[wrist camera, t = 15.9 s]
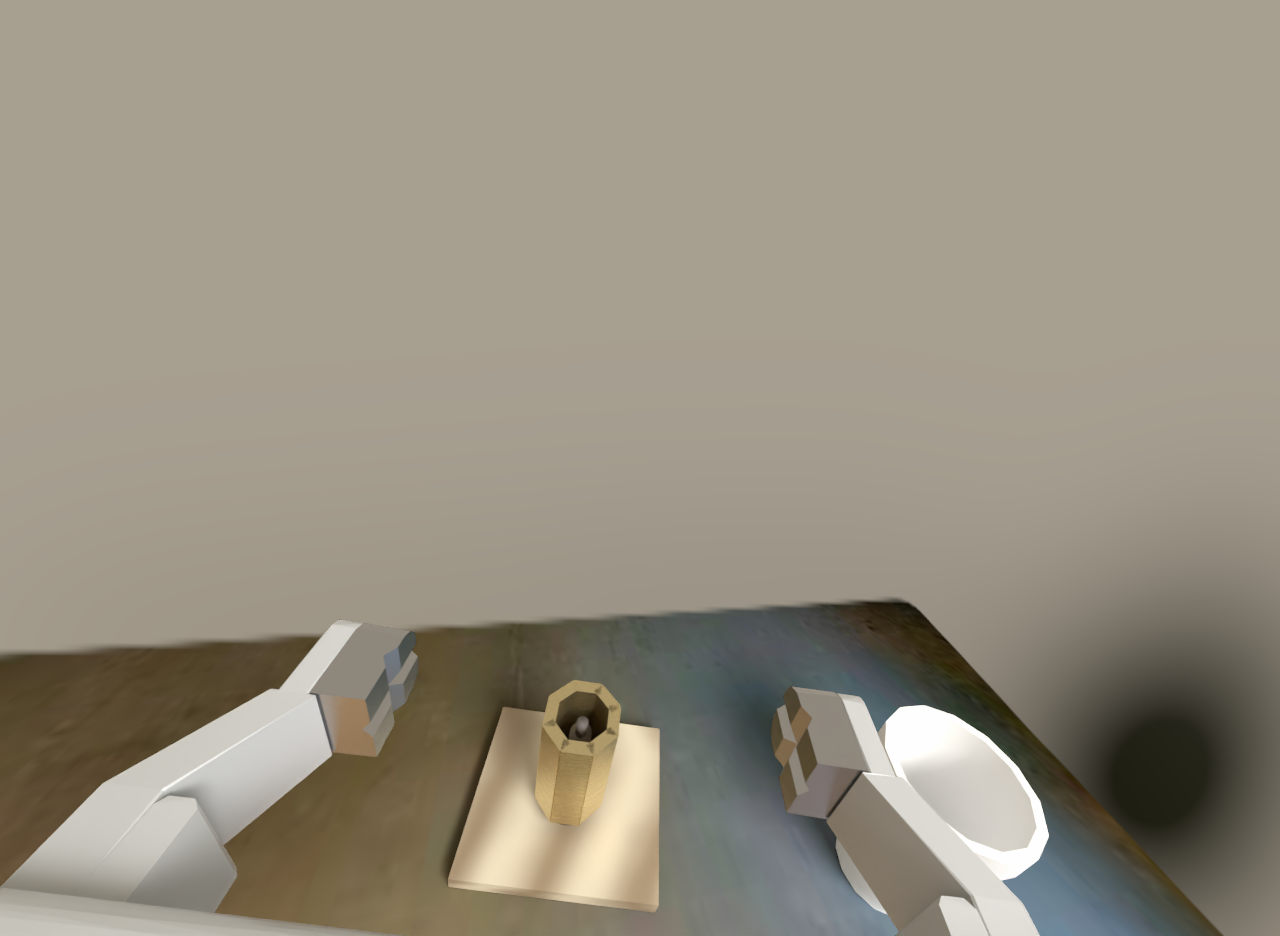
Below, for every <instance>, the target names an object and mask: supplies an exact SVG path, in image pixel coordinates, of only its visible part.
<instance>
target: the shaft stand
mask: <svg viewBox="0 0 1280 936" xmlns="http://www.w3.org/2000/svg"><path fill="white" fill-rule="evenodd" d="M544 715H545V713H544V712H537V711H530V710H523V709H516V708H509V707H503V709H502V713H501V716H500V719H499V722H498V725H497V728H496V731H495V734H494V737H493V740H492V744H491V747H490V750H489V753H488V756H487V759H486V762H485V765H484V768H483V771H482V775H481V778H480V781H479V784H478V787H477V790H476V793H475V796H474V799H473V802H472V806H471V809H470V812H469V815H468V818H467V821H466V824H465V827H464V830H463V834H462V837H461V840H460V843H459V846H458V849H457V852H456V855H455V858H454V861H453V865H452V868H451V871H450V874H449V877H448V887H454V888H462V889H470V890H478V891H486V892H494V893H502V894H510V895H518V896H526V897H534V898H542V899H550V900H558V901H566V902H574V903H583V904H591V905H599V906H607V907H615V908H623V909H631V910H639V911H647V912H656V910H657V908H658V906H659V729H657V728H650V727H643V726H636V725H629V724H622V723H620V724H619V736H618V740H617V744H616V748H615V752H614V756H613V760H612V764H611V768H610V772H609V776H608V780H607V784H606V788H605V792H604V796H603V800H602V804H601V806H600V807H599V808H598V809H597V810H596V811H595V812H594V813H593V814H592V815H590V816H589V817H588V818H587V819H586V820H585V821H584V822H583V823H582V824H580V825H578V826H574V825H566V824H559V823H551V822H549V820H548V818H547V817H546V815H545V813H544V812H543V810H542V808H541V807H540V805H539V804H538V802H537V800H536V799H535V788H536V778H537V769H538V759H539V750H540V741H541V731H542V723H543V719H544ZM588 723H589V721H588V719H587V718H586V717H584V716H581V717H579V718H578V719H577V723H575V724H574V725H573V726H572V727H571V729H570V734H569V740H575V741H582V742H589V743H590V739H591V734H592V730H591V727H590V726H589V725H588Z"/></svg>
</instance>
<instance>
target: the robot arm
mask: <svg viewBox="0 0 1280 936" xmlns="http://www.w3.org/2000/svg"><path fill="white" fill-rule="evenodd" d="M415 644H416V638H415V632H412V631H406V630H400V629H395V628H389V627H383V626H377V625H371V624H366V623H360V622H353V621H347V620H340V619H339V620H338V621H337V622H335V623H334V624H332V625H331V626H330V627H329V628H328V629H327V631H326V632H325V633H324V634H323V635H322V637H321V638H320V639H319V640H318V642H317V643H316V644H315V645H314V647H313V648H312V649H311V650H310V651H309V653H308V654H307V655H306V656H305V658H304V659H303V660H302V661H301V663H300V664H299V665H298V666H297V667H296V669H295V670H294V671H293V672H292V674H291V675H290V676H289V677H288V678H287V680H286V681H285V682H284V683H283V685H282V686H281V687H280V688H279V689H269V690H267V691H266V692H264V693H262V694H260V695H258V696H257V697H255V698H253V699H251V700H250V701H248V702H246V703H244V704H243V705H241V706H239V707H237V708H235V709H234V710H232V711H230V712H228V713H227V714H225V715H223V716H221V717H219V718H218V719H216V720H214V721H212V722H211V723H209V724H207V725H205V726H204V727H202V728H200V729H198V730H196V731H195V732H193V733H191V734H189V735H188V736H186V737H184V738H182V739H180V740H179V741H177V742H175V743H173V744H172V745H170V746H168V747H166V748H164V749H163V750H161V751H159V752H157V753H156V754H154V755H152V756H150V757H149V758H147V759H145V760H143V761H141V762H140V763H138V764H136V765H134V766H133V767H131V768H129V769H127V770H125V771H124V772H122V773H120V774H118V775H117V776H115V777H113V778H111V779H109V780H108V781H106V782H104V783H103V784H102V785H101V786H100V787H99V788H98V789H97V790H96V791H95V792H94V793H93V794H92V795H91V796H90V797H89V798H88V799H87V800H86V801H85V802H84V803H83V804H82V805H81V806H80V807H79V808H78V809H77V810H76V811H75V812H74V813H73V814H72V815H71V816H70V817H69V818H68V819H67V820H66V821H65V822H64V823H63V824H62V825H61V826H60V827H59V828H58V829H57V830H56V831H55V832H54V833H53V834H52V835H51V836H50V837H49V838H48V839H47V840H46V841H45V842H44V843H43V844H42V845H41V846H40V847H39V848H38V849H37V850H36V851H35V852H34V853H33V854H32V855H31V856H30V857H29V858H28V859H27V860H26V861H25V862H24V863H23V864H22V865H21V866H20V867H19V868H18V869H17V870H16V871H15V872H14V873H13V874H12V875H11V876H10V877H9V878H8V879H7V881H6V882H5V883H4V884H3V885H2V886H1V887H0V936H405V935H396V934H388V933H379V932H371V931H363V930H354V929H346V928H337V927H329V926H321V925H312V924H304V923H295V922H287V921H279V920H270V919H262V918H253V917H245V916H237V915H228V914H220V913H215V911H216V909H217V908H218V906H219V905H220V903H221V901H222V900H223V898H224V897H225V895H226V893H227V892H228V890H229V889H230V887H231V885H232V884H233V882H234V881H235V879H236V878H237V869H236V865H235V864H234V862H233V860H232V859H231V857H230V855H229V854H228V852H227V850H226V849H225V847H224V844H226V843H227V842H228V841H229V840H230V839H232V838H233V837H234V836H235V835H237V834H238V833H239V832H240V831H241V830H243V829H244V828H245V827H246V826H247V825H249V824H250V823H251V822H252V821H253V820H255V819H256V818H257V817H258V816H259V815H261V814H262V813H263V812H264V811H266V810H267V809H268V808H269V807H270V806H272V805H273V804H274V803H275V802H276V801H278V800H279V799H280V798H281V797H282V796H284V795H285V794H286V793H287V792H288V791H290V790H291V789H292V788H293V787H294V786H296V785H297V784H298V783H299V782H301V781H302V780H303V779H304V778H305V777H307V776H308V775H309V774H310V773H311V772H313V771H314V770H315V769H316V768H317V767H319V766H320V765H321V764H322V763H323V762H325V761H326V760H327V759H328V758H329V757H331V756H332V752H334V753H344V754H353V755H363V756H372V757H377V756H378V754H379V752H380V750H381V748H382V746H383V744H384V743H385V741H386V739H387V737H388V735H389V733H390V731H391V729H392V728H393V726H394V717H393V711H395V710H396V709H398V708H399V707H401V706H402V705H403V704H405V703H406V701H407V699H408V697H409V695H410V693H411V691H412V689H413V686H414V683H415V680H416V677H417V671H418V657H417V656H416V655H415V653H414V652H413V651H412V649H413V647H414V646H415ZM783 697H784V701H785V705H784V706H782V707H780V708H778V709H777V710H776V712H775V715H774V717H773V720H772V728H771V737H772V746H773V751H774V755H775V757H776V758H777V759H778V760H779V762H780V763H781V764H782V766H783V767H784V768H783V770H782V772H781V774H780V776H779V780H780V785H781V789H782V794H783V799H784V803H785V808H786V812H787V813H792V814H798V815H804V816H810V817H816V818H822V819H828V820H827V821H826V822H827V824H828V825H829V827H830V828H831V830H832V831H833V833H834V834H835V836H836V837H837V839H838V840H839V842H840V843H841V845H842V846H843V848H844V849H845V851H846V852H847V854H848V855H849V857H850V858H851V860H852V861H853V863H854V864H855V866H856V867H857V869H858V870H859V872H860V873H861V875H862V876H863V878H864V880H865V881H866V883H867V884H868V886H869V887H870V889H871V890H872V892H873V893H874V895H875V896H876V898H877V899H878V901H879V902H880V904H881V905H882V907H883V908H884V910H885V911H886V913H887V914H888V916H889V917H890V919H891V920H892V922H893V923H894V925H895V926H896V928H897V929H898V931H899V932H898V933H897V934H896V935H895V936H1040V935H1039V933H1038V931H1037V929H1036V928H1035V926H1034V924H1033V922H1032V920H1031V918H1030V916H1029V914H1028V912H1027V910H1026V908H1025V907H1024V905H1023V903H1022V902H1021V901H1020V900H1019V899H1018V898H1017V897H1016V896H1015V895H1014V894H1013V893H1012V892H1011V891H1010V890H1009V889H1008V888H1007V887H1006V885H1005V884H1004V883H1003V882H1002V881H1001V880H1000V879H999V878H998V877H997V876H996V875H995V874H994V873H993V872H992V871H991V870H990V869H989V868H988V867H987V866H986V864H985V863H984V862H983V861H982V860H981V859H980V858H979V857H978V856H977V855H976V854H975V853H974V852H973V851H972V850H971V849H970V848H969V847H968V846H967V845H966V843H965V842H964V841H963V840H962V839H961V838H960V837H959V836H958V835H957V834H956V833H955V832H954V831H953V830H952V829H951V828H950V827H949V826H948V825H947V824H946V822H945V821H944V820H943V819H942V818H941V817H940V816H939V815H938V814H937V813H936V812H935V811H934V810H933V809H932V808H931V807H930V806H929V805H928V804H927V803H926V801H925V800H924V799H923V798H922V797H921V796H920V795H919V794H918V793H917V792H916V791H915V790H914V789H913V788H912V787H911V786H910V785H909V784H908V783H907V782H906V780H905V779H904V778H902V777H897V776H895V774H894V771H893V769H892V766H891V764H890V762H889V759H888V757H887V755H886V752H885V750H884V748H883V745H882V743H881V741H880V738H879V736H878V734H877V731H876V729H875V726H874V724H873V722H872V719H871V717H870V715H869V712H868V710H867V708H866V705H865V703H864V701H863V700H862V699H861V698H860V697H858V696H853V695H845V694H838V693H834V692H828V691H821V690H813V689H805V688H798V687H790V688H789V689H787V691H786V692H785V694H784V696H783Z"/></svg>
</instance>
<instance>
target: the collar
mask: <svg viewBox="0 0 1280 936" xmlns="http://www.w3.org/2000/svg"><path fill="white" fill-rule="evenodd" d="M620 712H621V706H620V705H619V703H618V702H617V701H616V700H615V699H614V697H613V696H612V695H611V694H610V693H609V691H608V690H607V689H606V688H605V687H604V685H602V684H598V683H591V682H584V681H577V680H573V681H571V682H570V683H568V684H567V685H565V686H564V687H562V688H561V689H559V690H557V691H556V692H554V693H553V694H551V695H550V696H549V698H548V702H547V706H546V711H545V715H544V719H543V723H542V731H541V741H540V750H539V759H538V769H537V778H536V788H535V799H536V800H537V802H538V804H539V805H540V807H541V808H542V810H543V812H544V813H545V815H546V817H547V818H548V820H549V822H551V823H559V824H566V825H574V826H578V825H580V824H582V823H583V822H584V821H585V820H586V819H587V818H588V817H589V816H590V815H592V814H593V813H594V812H595V811H596V810H597V809H598V808H599V807H600V806H601V804H602V800H603V796H604V792H605V788H606V784H607V780H608V776H609V772H610V768H611V764H612V760H613V756H614V752H615V748H616V744H617V740H618V736H619V724H620ZM581 716H584V717H586V718H587V719H588V721H589V723H588V725H589V726H590V727H591V730H592V734H591V739H590V743H589V742H582V741H575V740H569V734H570V729H571V727H572V726H573V725H574V724H575V723H577V719H578V718H579V717H581Z"/></svg>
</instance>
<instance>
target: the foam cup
mask: <svg viewBox="0 0 1280 936" xmlns="http://www.w3.org/2000/svg"><path fill="white" fill-rule="evenodd" d="M877 734H878V736H879V738H880V741H881V743H882V745H883V748H884V750H885V752H886V755H887V757H888V759H889V762H890V764H891V766H892V769H893V771H894V774H895V776H897V777H902V778H904V779H905V780H906V782H907V783H908V784H909V785H910V786H911V787H912V788H913V789H914V790H915V791H916V792H917V793H918V794H919V795H920V796H921V797H922V798H923V799H924V800H925V801H926V803H927V804H928V805H929V806H930V807H931V808H932V809H933V810H934V811H935V812H936V813H937V814H938V815H939V816H940V817H941V818H942V819H943V820H944V821H945V822H946V824H947V825H948V826H949V827H950V828H951V829H952V830H953V831H954V832H955V833H956V834H957V835H958V836H959V837H960V838H961V839H962V840H963V841H964V842H965V843H966V845H967V846H968V847H969V848H970V849H971V850H972V851H973V852H974V853H975V854H976V855H977V856H978V857H979V858H980V859H981V860H982V861H983V862H984V863H985V864H986V866H987V867H988V868H989V869H990V870H991V871H992V872H993V873H994V874H995V875H996V876H997V877H998V878H999V879H1000V880H1005V879H1010V878H1015V877H1017V876H1018V875H1019V874H1020V873H1022V872H1023V871H1024V870H1026V869H1027V868H1028V867H1030V866H1031V865H1032V864H1034V863H1035V862H1036V861H1038V860H1039V858H1040V855H1041V853H1042V851H1043V849H1044V846H1045V844H1046V842H1047V839H1048V837H1049V834H1048V830H1047V826H1046V822H1045V818H1044V814H1043V810H1042V806H1041V802H1040V801H1039V799H1038V798H1037V796H1036V794H1035V793H1034V791H1033V790H1032V788H1031V787H1030V785H1029V784H1028V782H1027V780H1026V779H1025V777H1024V776H1023V774H1022V773H1021V771H1020V770H1019V768H1018V767H1017V766H1016V765H1015V764H1014V763H1013V762H1012V761H1011V760H1010V759H1009V758H1008V757H1007V756H1006V755H1005V754H1004V753H1003V752H1002V751H1001V750H1000V749H999V748H998V747H997V746H996V745H995V744H994V743H993V742H992V741H991V740H990V739H989V738H988V737H987V736H986V735H984V734H982V733H981V732H979V731H978V730H976V729H975V728H973V727H972V726H970V725H969V724H967V723H965V722H964V721H962V720H961V719H959V718H958V717H956V716H955V715H952V714H949V713H946V712H943V711H940V710H937V709H934V708H931V707H928V706H925V705H921V706H909V707H900V708H899V709H898V710H897V711H896V712H895V713H894V714H893V715H892V716H891V717H890V718H889V719H888V720H887V721H886V722H885V724H884V725H883V726H882V728H881V729H880V731H879V732H878V733H877ZM836 851H837V854H838V858H839V862H840V865H841V869H842V871H843V872H844V874H845V876H846V877H847V879H848V881H849V882H850V884H851V885H852V887H853V889H854V890H855V892H856V893H857V894H858V895H859V896H861V897H862V898H863V899H864V900H865V901H866V902H867V903H868V904H869V905H870V906H871V907H873V908H874V909H875V910H877V911H880V912H882V913H885V914H887V913H886V911H885V910H884V908H883V907H882V905H881V904H880V902H879V901H878V899H877V898H876V896H875V895H874V893H873V892H872V890H871V889H870V887H869V886H868V884H867V883H866V881H865V880H864V878H863V876H862V875H861V873H860V872H859V870H858V869H857V867H856V866H855V864H854V863H853V861H852V860H851V858H850V857H849V855H848V854H847V852H846V851H845V849H844V848H843V846H842V845H841V843H840V842H839V840H838V839H836ZM887 915H888V914H887Z"/></svg>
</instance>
